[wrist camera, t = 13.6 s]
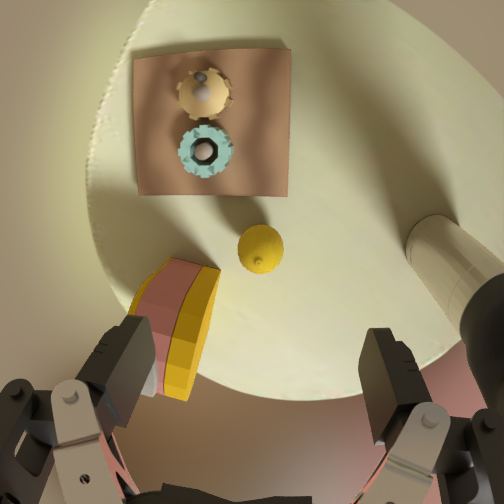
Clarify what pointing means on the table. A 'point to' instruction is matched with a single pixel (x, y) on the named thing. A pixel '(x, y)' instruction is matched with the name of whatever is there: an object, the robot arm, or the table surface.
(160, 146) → the gear board
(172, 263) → the alarm clock
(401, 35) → the table surface
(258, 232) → the lemon
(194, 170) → the teal gear
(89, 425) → the robot arm
